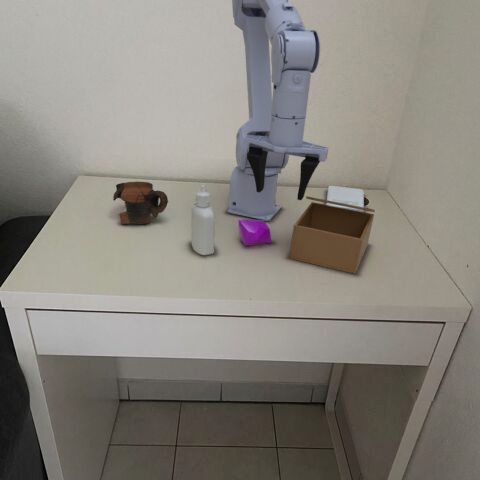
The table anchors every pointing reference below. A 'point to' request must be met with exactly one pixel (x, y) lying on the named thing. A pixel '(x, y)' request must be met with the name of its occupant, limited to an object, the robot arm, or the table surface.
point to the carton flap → (340, 204)
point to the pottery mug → (140, 202)
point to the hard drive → (346, 197)
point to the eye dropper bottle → (202, 223)
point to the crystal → (254, 232)
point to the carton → (331, 237)
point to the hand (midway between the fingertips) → (280, 194)
